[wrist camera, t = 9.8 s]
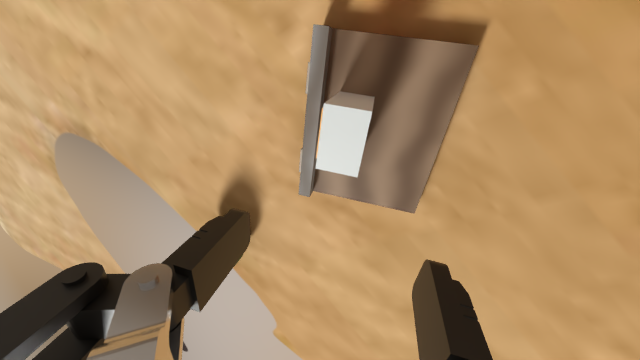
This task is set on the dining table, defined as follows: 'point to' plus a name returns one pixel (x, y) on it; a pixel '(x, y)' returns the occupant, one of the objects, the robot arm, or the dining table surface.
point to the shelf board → (384, 110)
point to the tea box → (343, 133)
